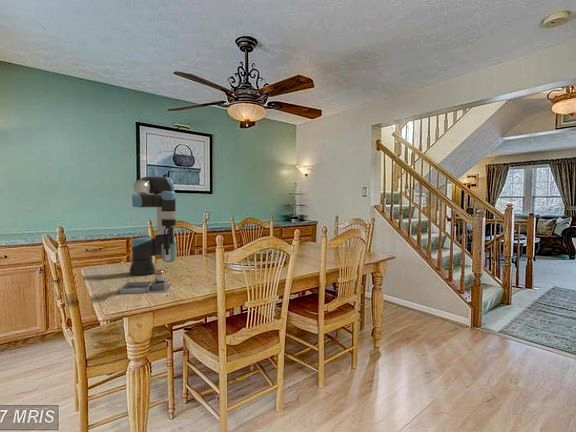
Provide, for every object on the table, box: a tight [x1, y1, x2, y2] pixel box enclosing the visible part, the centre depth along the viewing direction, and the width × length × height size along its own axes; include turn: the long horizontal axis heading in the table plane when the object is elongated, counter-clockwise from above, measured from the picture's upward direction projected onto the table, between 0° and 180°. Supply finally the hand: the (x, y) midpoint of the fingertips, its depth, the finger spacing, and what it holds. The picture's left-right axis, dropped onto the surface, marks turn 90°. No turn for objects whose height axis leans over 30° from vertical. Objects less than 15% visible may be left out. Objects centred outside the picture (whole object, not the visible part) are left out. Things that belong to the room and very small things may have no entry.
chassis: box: [117, 280, 173, 295], centre depth 166 cm, size 16×23×5 cm
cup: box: [161, 243, 178, 263], centre depth 179 cm, size 8×8×10 cm
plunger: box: [153, 269, 165, 283], centre depth 166 cm, size 5×5×6 cm
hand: (169, 258), depth 180 cm, fingers closed on cup, 8 cm apart
